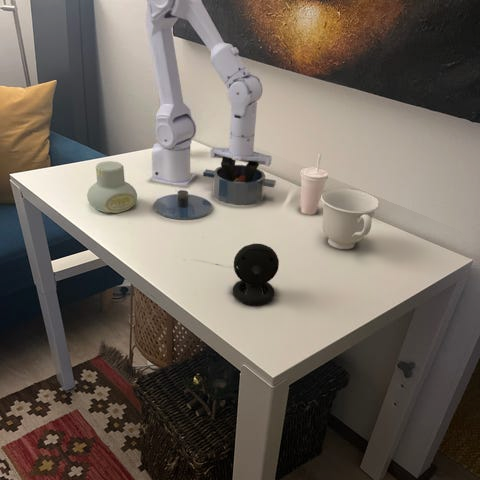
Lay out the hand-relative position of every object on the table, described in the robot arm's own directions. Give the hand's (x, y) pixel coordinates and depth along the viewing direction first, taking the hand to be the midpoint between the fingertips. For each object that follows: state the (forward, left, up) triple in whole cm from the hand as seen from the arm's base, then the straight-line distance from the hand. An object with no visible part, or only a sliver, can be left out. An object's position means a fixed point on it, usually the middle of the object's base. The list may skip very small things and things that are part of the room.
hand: (238, 189), depth 123 cm
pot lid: (-10, -12, -1) cm, 16 cm away
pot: (0, 0, -2) cm, 2 cm away
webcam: (+14, -41, -2) cm, 44 cm away
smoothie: (+18, -1, -2) cm, 18 cm away
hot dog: (0, 0, -1) cm, 1 cm away
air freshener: (-25, -18, -2) cm, 31 cm away
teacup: (+28, -16, -2) cm, 33 cm away
